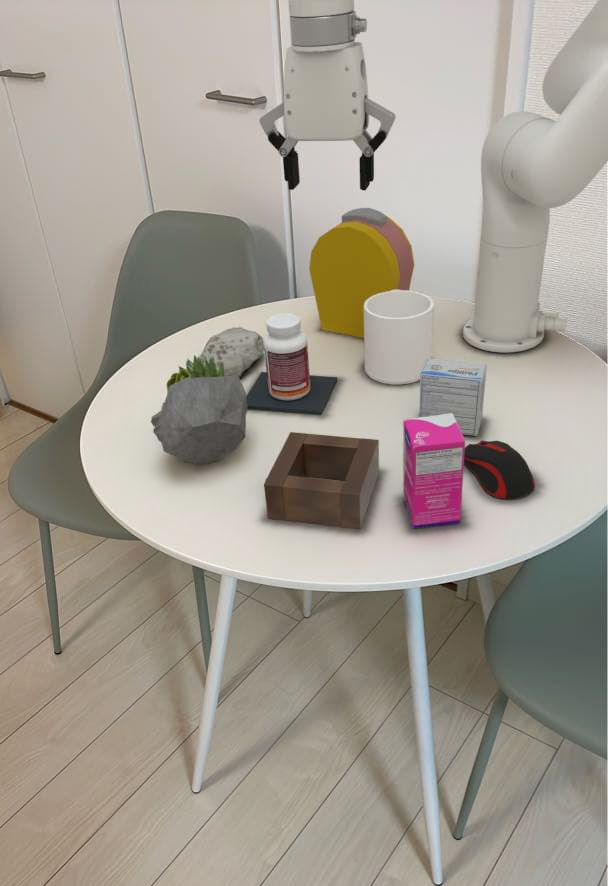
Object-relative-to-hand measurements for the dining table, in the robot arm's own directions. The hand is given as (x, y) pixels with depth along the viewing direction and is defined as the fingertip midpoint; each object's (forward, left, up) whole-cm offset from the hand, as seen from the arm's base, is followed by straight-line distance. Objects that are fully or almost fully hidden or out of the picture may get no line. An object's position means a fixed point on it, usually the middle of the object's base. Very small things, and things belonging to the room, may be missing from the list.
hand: (329, 187), depth 99 cm
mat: (+5, +9, -26) cm, 28 cm away
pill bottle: (+5, +9, -26) cm, 28 cm away
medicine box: (-19, +14, -26) cm, 35 cm away
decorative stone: (+17, +2, -26) cm, 32 cm away
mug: (-9, -2, -26) cm, 28 cm away
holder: (-6, +32, -26) cm, 42 cm away
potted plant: (+13, +24, -26) cm, 38 cm away
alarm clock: (-1, -15, -26) cm, 30 cm away
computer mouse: (-26, +24, -26) cm, 44 cm away
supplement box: (-19, +33, -26) cm, 46 cm away
